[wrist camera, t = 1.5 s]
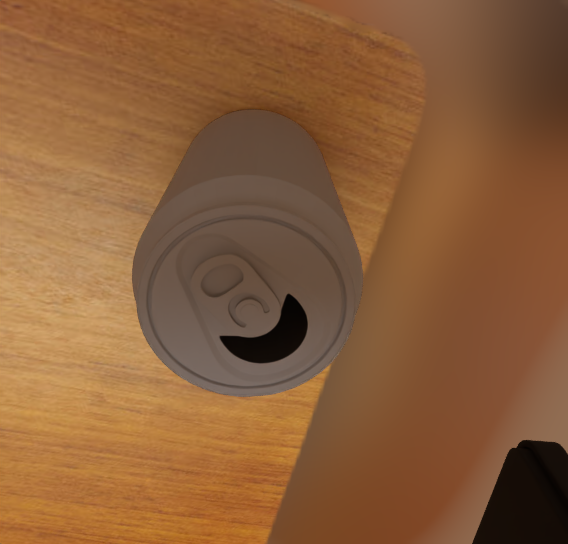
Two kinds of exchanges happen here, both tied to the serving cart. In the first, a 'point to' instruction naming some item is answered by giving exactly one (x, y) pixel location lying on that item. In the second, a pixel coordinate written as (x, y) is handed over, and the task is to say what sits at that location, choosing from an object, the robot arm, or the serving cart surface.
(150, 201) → the serving cart surface
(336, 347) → the beverage can
